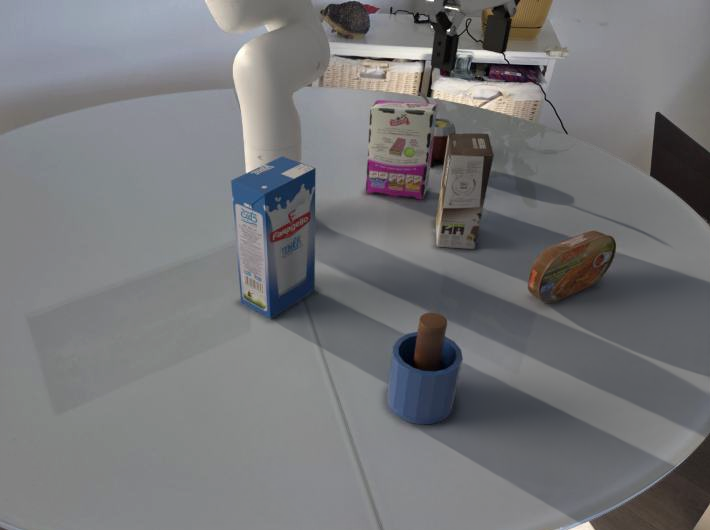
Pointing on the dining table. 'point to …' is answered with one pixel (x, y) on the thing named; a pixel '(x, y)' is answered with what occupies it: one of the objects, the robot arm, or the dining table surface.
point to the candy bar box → (400, 148)
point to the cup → (422, 382)
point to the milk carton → (275, 234)
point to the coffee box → (463, 189)
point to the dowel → (429, 341)
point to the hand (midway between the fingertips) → (468, 59)
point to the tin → (571, 266)
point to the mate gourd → (440, 137)
